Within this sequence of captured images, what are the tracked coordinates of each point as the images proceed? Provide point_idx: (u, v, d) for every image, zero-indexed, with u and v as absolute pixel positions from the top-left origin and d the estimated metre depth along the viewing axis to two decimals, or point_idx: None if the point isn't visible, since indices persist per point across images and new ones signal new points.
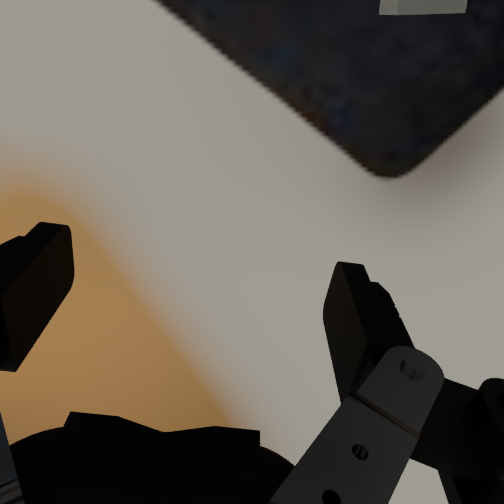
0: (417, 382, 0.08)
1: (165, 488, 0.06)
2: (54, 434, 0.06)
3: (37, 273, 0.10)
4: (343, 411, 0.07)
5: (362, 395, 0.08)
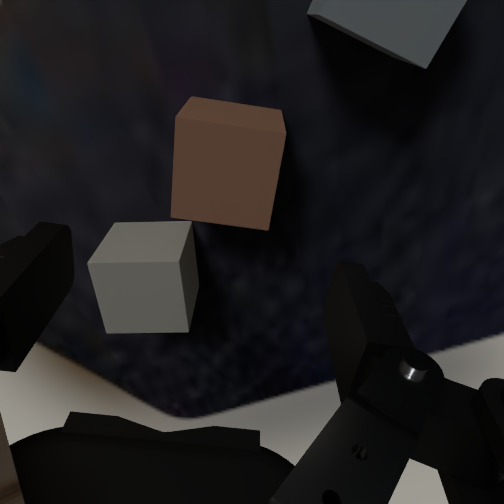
0: (417, 382, 0.08)
1: (165, 488, 0.06)
2: (54, 434, 0.06)
3: (37, 273, 0.10)
4: (343, 411, 0.07)
5: (362, 395, 0.08)
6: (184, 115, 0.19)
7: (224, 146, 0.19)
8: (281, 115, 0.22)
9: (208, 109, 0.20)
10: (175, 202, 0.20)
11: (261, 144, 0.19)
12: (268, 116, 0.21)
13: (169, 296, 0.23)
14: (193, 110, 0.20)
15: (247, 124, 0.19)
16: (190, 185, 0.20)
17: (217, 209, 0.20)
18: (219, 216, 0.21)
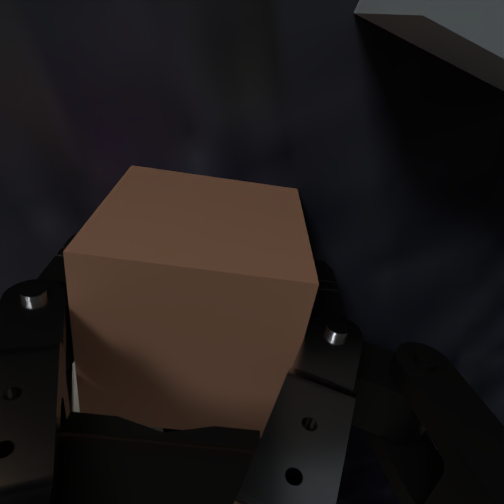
0: (336, 344, 0.09)
1: (165, 488, 0.06)
2: None
3: None
4: (286, 389, 0.07)
5: (297, 368, 0.08)
6: (89, 240, 0.08)
7: (180, 306, 0.08)
8: (299, 208, 0.11)
9: (153, 207, 0.10)
10: (86, 398, 0.10)
11: (261, 304, 0.08)
12: (275, 216, 0.11)
13: None
14: (118, 216, 0.09)
15: (231, 256, 0.09)
16: (114, 372, 0.09)
17: (172, 408, 0.10)
18: (178, 419, 0.10)
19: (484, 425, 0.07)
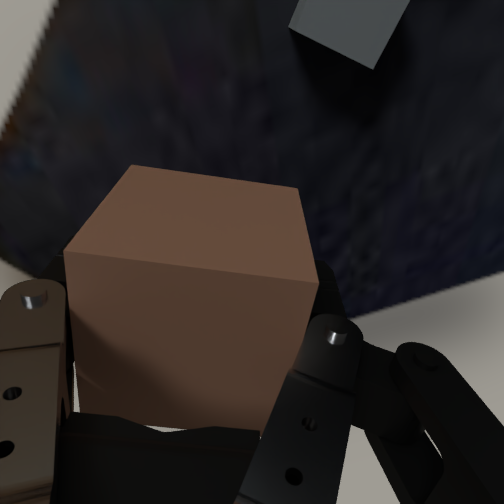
0: (336, 344, 0.09)
1: (165, 488, 0.06)
2: None
3: None
4: (286, 389, 0.07)
5: (297, 368, 0.08)
6: (89, 239, 0.08)
7: (180, 305, 0.08)
8: (299, 207, 0.11)
9: (153, 207, 0.10)
10: (86, 397, 0.10)
11: (261, 302, 0.08)
12: (275, 215, 0.11)
13: None
14: (118, 215, 0.09)
15: (231, 255, 0.09)
16: (114, 371, 0.09)
17: (172, 407, 0.10)
18: (178, 418, 0.10)
19: (484, 426, 0.07)
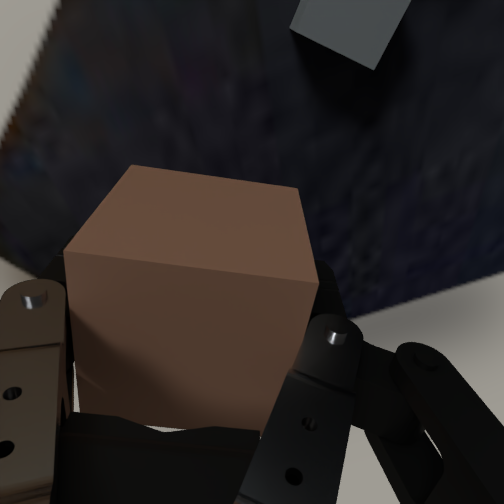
0: (336, 344, 0.09)
1: (165, 488, 0.06)
2: None
3: None
4: (286, 389, 0.07)
5: (297, 368, 0.08)
6: (89, 239, 0.08)
7: (181, 305, 0.08)
8: (299, 207, 0.11)
9: (153, 207, 0.10)
10: (86, 397, 0.10)
11: (261, 303, 0.08)
12: (275, 215, 0.11)
13: None
14: (118, 215, 0.09)
15: (231, 255, 0.09)
16: (114, 371, 0.09)
17: (172, 407, 0.10)
18: (178, 419, 0.10)
19: (484, 426, 0.07)
